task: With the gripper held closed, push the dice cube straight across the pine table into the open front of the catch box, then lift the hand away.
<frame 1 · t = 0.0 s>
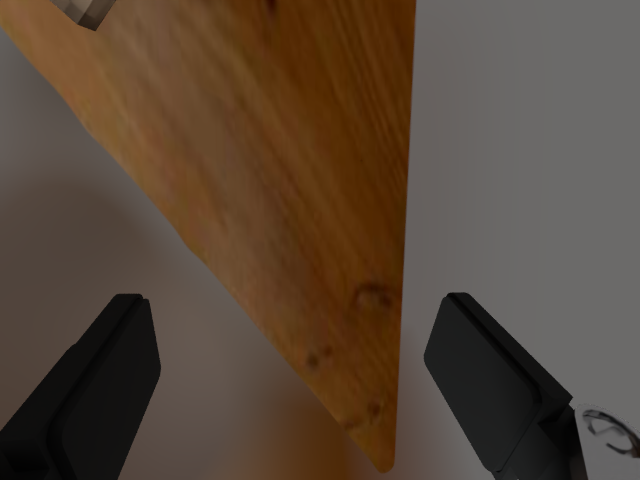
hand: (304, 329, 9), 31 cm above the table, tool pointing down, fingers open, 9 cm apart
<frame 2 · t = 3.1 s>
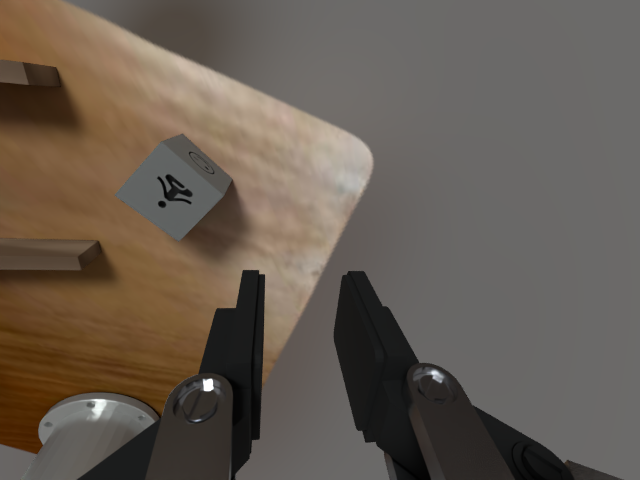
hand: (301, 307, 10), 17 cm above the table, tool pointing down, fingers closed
catch box: (7, 167, 22), on the table
dice cube: (189, 177, 25), on the table
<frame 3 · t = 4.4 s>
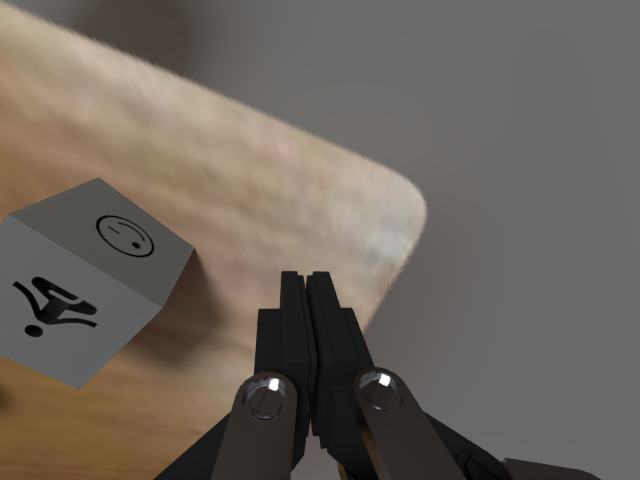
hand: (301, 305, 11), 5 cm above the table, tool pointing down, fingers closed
dice cube: (120, 247, 14), on the table
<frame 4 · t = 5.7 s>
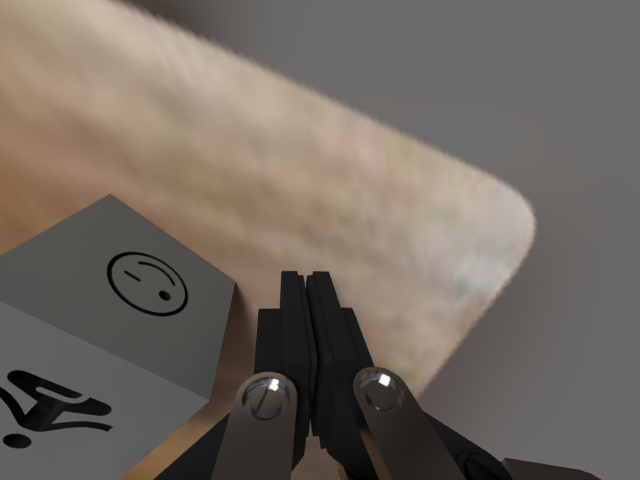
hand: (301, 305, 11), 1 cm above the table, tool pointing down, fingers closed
dice cube: (138, 284, 11), on the table, touching gripper
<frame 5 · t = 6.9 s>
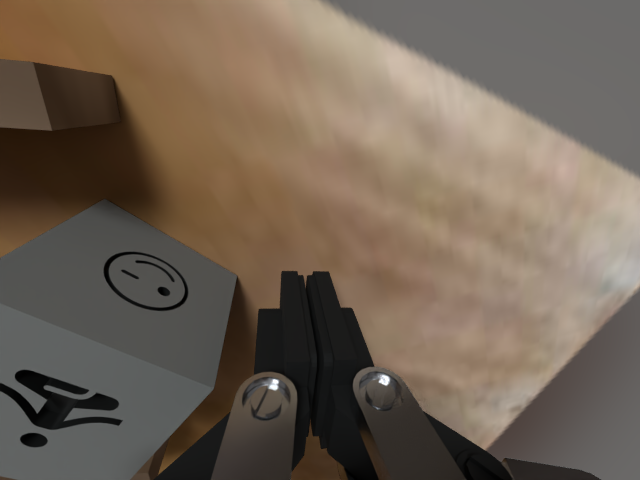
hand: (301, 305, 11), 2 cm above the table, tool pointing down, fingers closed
dice cube: (143, 286, 11), on the table, touching gripper
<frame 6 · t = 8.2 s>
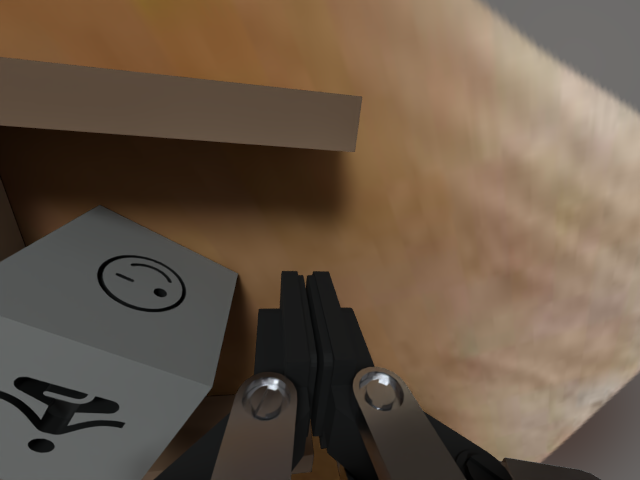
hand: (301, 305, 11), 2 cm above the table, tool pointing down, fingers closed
catch box: (189, 290, 11), on the table
dice cube: (147, 289, 11), on the table, touching catch box, gripper
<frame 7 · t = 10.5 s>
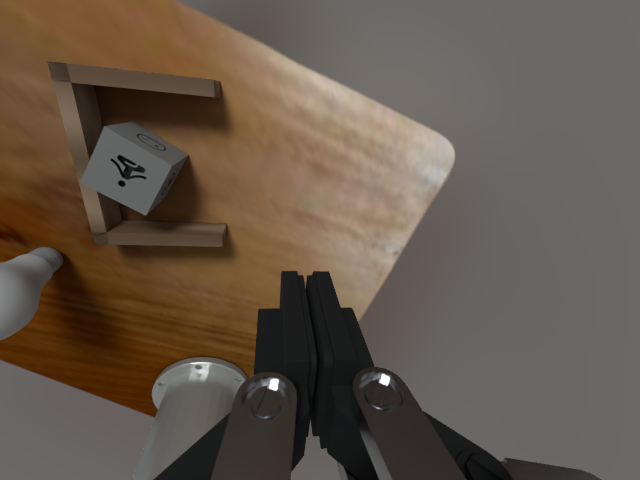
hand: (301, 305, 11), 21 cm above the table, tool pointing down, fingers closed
lightbulb: (55, 253, 30), on the table
catch box: (168, 162, 27), on the table
dice cube: (151, 161, 27), on the table
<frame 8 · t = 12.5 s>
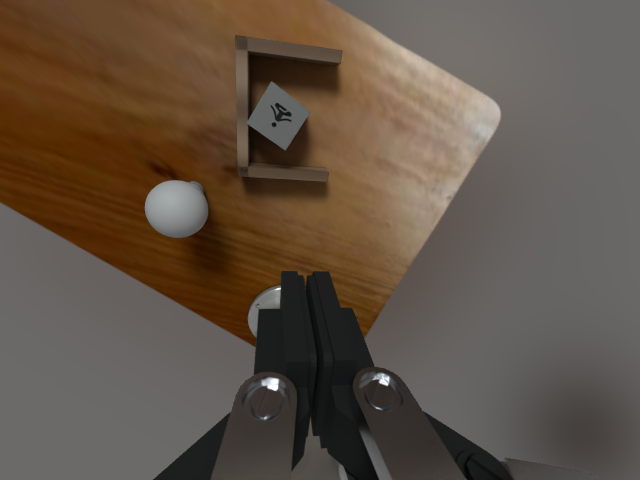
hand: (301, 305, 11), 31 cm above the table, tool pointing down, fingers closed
lightbulb: (195, 188, 39), on the table
catch box: (290, 116, 36), on the table
dice cube: (278, 115, 36), on the table
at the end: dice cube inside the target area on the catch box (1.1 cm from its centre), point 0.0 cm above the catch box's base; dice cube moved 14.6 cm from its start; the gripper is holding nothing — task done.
